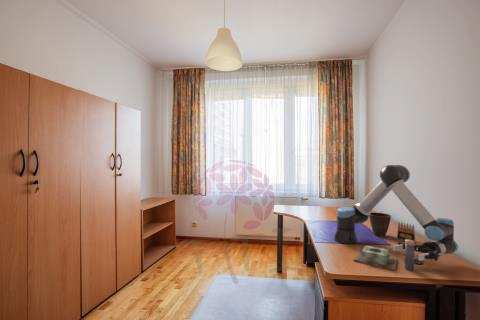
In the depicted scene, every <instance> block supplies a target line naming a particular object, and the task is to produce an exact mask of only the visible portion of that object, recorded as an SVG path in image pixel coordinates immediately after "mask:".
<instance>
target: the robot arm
mask: <svg viewBox="0 0 480 320" xmlns="http://www.w3.org/2000/svg"><path fill="white" fill-rule="evenodd" d="M410 177H411V172H410V171H409V169H408V168H407V167H406V166H404V165H400V164H389V165H388V164H387V165H384V166H383V167H382V168H381V170H380V171H379V178H380V181H379V182H378V183H377V184H376V185H375V186H374V187H373V188H372V189H371V190H370V192H369V193H368V194H367V195H365V197H363V199H362V200H361V201H360V202H356V203H354V206H352V207H351V206H341V207H338V208H337V211H336V229H335V230H336V231H335V234H334V237H333V240H334V241H335V242H337V243H341V244H343V245H344V244H345V245H355V244H357V243H358V237H357V234H356V231H355V225H359V224H364V223H365V222H367V221H368V220H369V215H370V213H371V211H372V210H373V209H374V208H375V207H376V206H377V205H378V204H379V203H380V202H381V201H382V200H383V199H384V198H385V197H386V196H387V195H388V194H389V193H390V192H391V191H392V192H393V193H394V195H395V196H396V197H397V198H398V200H399V201H400V202H401V203H402V204H403V206H405V208H406V209H407V210H408V212H409V213H410V215H411V216H413V218H414V219H415V220H416V221H417V222H418V224H419V225H420V227H422V229H424V235H425V236H426V238H428V240H430V241H424V242H423V243H422V244H417V243H415V242H414V252H418V253H420V254H418V259H417V260H419V261H426V260H434V261H436V262H437V261H438V260H439V257H441V255H442V256H443V255H449V254H454V253H456V252H457V251H458V249H459V245H458V244H457V242H456V241H455V240H454V239H455V238H454V237H455V236H454V235H455V232H454V231H455V225H454V224H455V223H454V220H453V219H450V218H444V217H438V218H436V219H435V217H434V216H433V215H432V213H431V212H430V211H428V209H427V208H426V207H425V206H424V205H423V203H422V202H421V201H419V199H418V198H417V196H416V195H415V194H414V193H413V192H412V191H411V190H410V188H408V186H407V185H406V184H405V183H406V182H408V180H410ZM392 250H393V251H394V252H396V251H397V252H398V251H403V250H405V242H398V243H397V244H395V245H393V246H392Z"/></svg>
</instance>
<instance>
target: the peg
mask: <svg viewBox="0 0 480 320" xmlns="http://www.w3.org/2000/svg"><path fill="white" fill-rule="evenodd" d="M404 243H405V249H404V250H405V251H404V269H405V270H408V271H412V272H413V271H415V264H414V260H415V250H414V243H415V241H413V240H409V239H406V240H405V239H404Z"/></svg>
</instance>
